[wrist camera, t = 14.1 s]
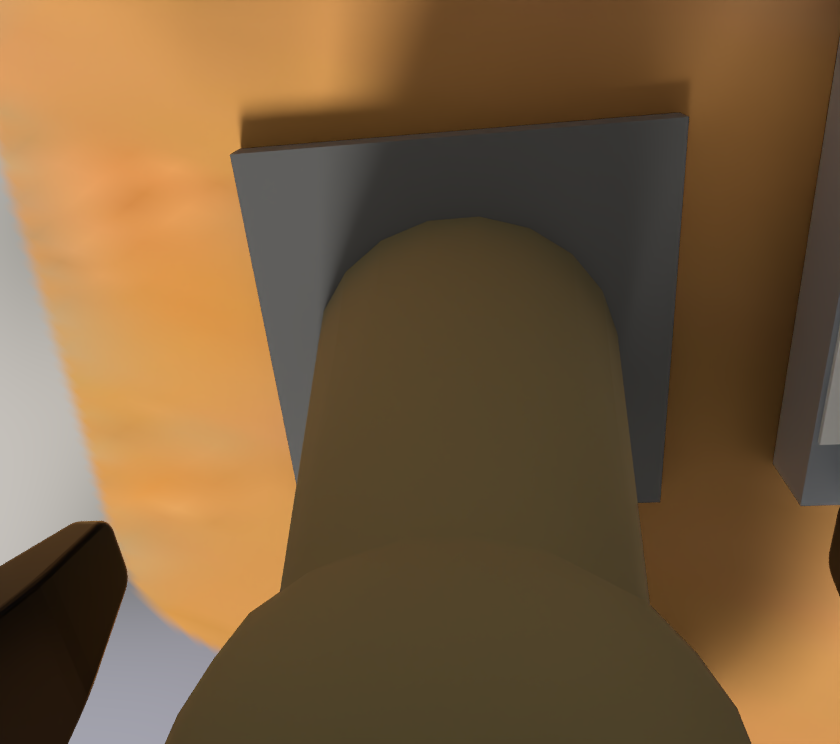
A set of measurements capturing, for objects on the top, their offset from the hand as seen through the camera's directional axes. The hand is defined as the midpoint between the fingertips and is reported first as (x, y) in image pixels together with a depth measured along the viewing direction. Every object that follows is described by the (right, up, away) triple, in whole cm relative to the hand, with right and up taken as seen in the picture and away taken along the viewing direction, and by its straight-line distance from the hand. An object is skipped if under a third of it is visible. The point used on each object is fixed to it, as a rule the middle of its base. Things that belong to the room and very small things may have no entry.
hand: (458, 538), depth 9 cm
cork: (0, +2, +6) cm, 6 cm away
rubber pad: (0, +3, +6) cm, 7 cm away
